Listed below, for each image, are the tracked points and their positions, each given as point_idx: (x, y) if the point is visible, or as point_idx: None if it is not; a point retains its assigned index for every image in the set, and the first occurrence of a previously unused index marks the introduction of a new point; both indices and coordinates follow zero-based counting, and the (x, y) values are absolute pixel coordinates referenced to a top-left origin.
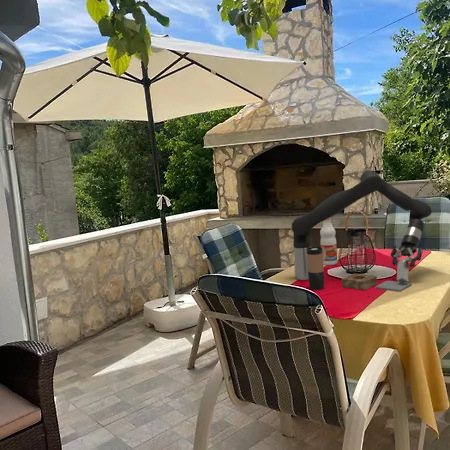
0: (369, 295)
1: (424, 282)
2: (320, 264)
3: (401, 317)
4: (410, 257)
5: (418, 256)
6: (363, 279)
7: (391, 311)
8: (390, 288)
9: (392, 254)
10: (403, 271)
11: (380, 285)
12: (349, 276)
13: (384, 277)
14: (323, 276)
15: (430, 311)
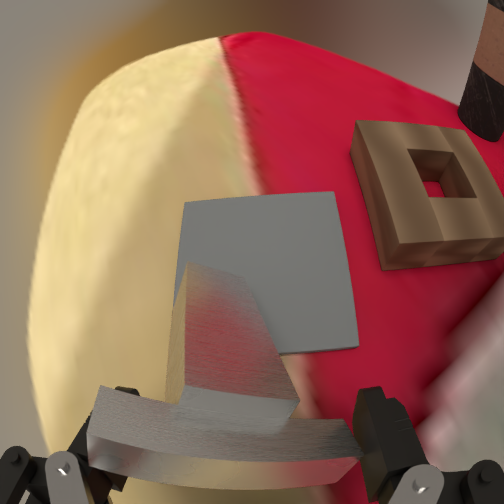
0: (282, 117)
1: None
2: (482, 39)
3: (130, 76)
4: (88, 452)
5: (7, 460)
6: (394, 149)
7: (157, 79)
8: (241, 200)
9: (474, 485)
10: (184, 297)
11: (324, 221)
12: (482, 170)
13: (432, 437)
14: (478, 88)
15: (74, 126)
